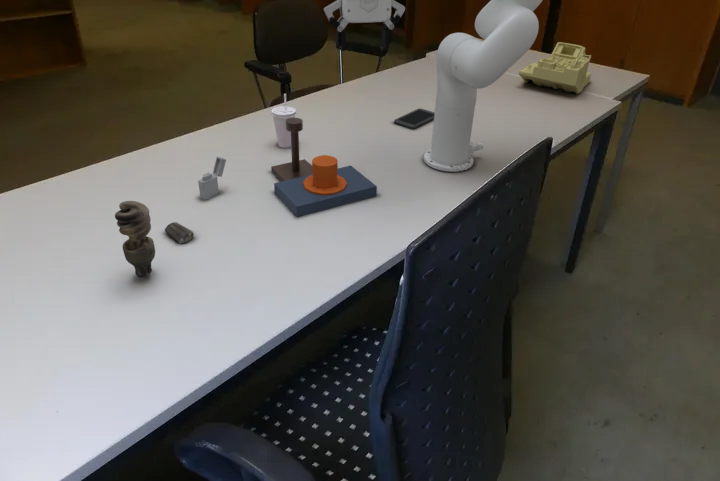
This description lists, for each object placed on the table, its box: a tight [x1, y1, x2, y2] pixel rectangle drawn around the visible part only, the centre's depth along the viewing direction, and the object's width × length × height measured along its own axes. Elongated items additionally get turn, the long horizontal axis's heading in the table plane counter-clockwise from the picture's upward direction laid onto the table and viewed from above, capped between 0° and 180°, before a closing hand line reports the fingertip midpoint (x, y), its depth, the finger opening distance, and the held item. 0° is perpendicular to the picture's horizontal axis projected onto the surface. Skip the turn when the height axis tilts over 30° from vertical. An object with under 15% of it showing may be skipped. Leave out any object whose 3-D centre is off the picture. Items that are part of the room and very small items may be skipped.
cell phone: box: [393, 107, 435, 130], centre depth 172 cm, size 7×14×1 cm, turn 141°
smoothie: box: [271, 93, 297, 149], centre depth 151 cm, size 6×6×14 cm
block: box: [164, 221, 194, 244], centre depth 116 cm, size 4×6×2 cm, turn 52°
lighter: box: [197, 156, 227, 201], centre depth 129 cm, size 7×2×8 cm, turn 142°
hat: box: [303, 154, 347, 195], centre depth 129 cm, size 10×10×6 cm
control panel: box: [518, 41, 593, 95], centre depth 199 cm, size 24×16×20 cm
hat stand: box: [270, 117, 313, 182], centre depth 136 cm, size 9×9×14 cm
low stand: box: [273, 165, 378, 217], centre depth 132 cm, size 20×12×2 cm, turn 120°
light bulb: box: [114, 200, 156, 279], centre depth 101 cm, size 6×6×15 cm
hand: (363, 48), depth 124 cm, fingers open, 9 cm apart
